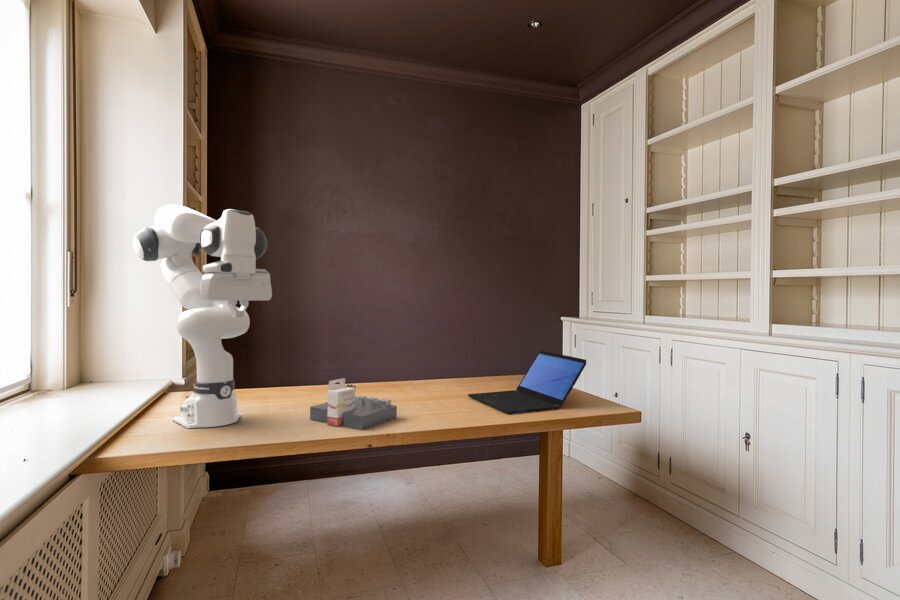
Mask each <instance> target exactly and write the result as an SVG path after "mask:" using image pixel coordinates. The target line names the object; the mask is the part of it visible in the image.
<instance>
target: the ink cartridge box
mask: <svg viewBox="0 0 900 600" xmlns="http://www.w3.org/2000/svg"><path fill="white" fill-rule="evenodd" d="M337 383H338V384H337ZM345 386H346V378H345V377H344V378H337V379H334V380H333V379H332V380H329V381H328V388H327V389H328V390H327V402H328V410H327V423H326V424H327V425H328V426H333V427H337V426H338V427H340V425H341V426H343V413H344V412H348V411H351V410H354V408H355V397H356V394H355V393H356V388H352V387H347V386H346V387H345Z"/></svg>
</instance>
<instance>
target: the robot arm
mask: <svg viewBox="0 0 900 600" xmlns="http://www.w3.org/2000/svg"><path fill="white" fill-rule="evenodd" d="M154 223H155V225H153V226H148V225H146V226H144V227H143V228H142V229H141V230H139V231H138V232H136V233H135V235H134V236H133V238H132V245H133V249H134V251H135V253H136V254H137V256H138V258H140V259H141V260H142V261H145V262H155V261H156V262H157V261H158V260H162V262H161V263H160V270H161V273H162V276H163V278H164V280H165V282H166V284H167V286H168V287H169V289H170V290H171V292H172V293H173V294H174V296H175V298H176V299H177V301H178V302H179V303H180V305H181V307H183V308H184V309H186V310H184V311H183V312H181V313H180V315H179V316H178V318H177V321H176V329H177V331H178V333H179V335H180V336H181V338H182V339H184V340H186V341H187V342H188V344H189V345H190V347H191V348H192V350H193V353H194V356H195V360H196V361H195V363H196V364H195V365H196V381H195V382H193V384H192V387H193V390H192V393H191V394H190V395H188V397H187V398H186V399H185V400H183V401H182V402H181V404H180V405H181V406H179V407H180V409H179V410H180V414H179V415H175V416H174V417H172V421H173V420H174V421H175V423H176V422H177V423H176V424H178V423H179V424H178V425H180V424H181V425H180V426H182V427H184V428H187V429H196V428H197V429H198V428H215V427H216V428H217V427H222V426H226V425H231V424H234V423H236V422H237V421H239V418H241V413H240V412H239V410H238V400H237V394H236V393H235V384H236V383H235V379H234V358H233V355H232V354H231V353H230V352H228V351H226V350H225V348H224V346H223V344H222V340H223V339H233V338H236V337H239V336H242V335H243V334H245V333H247V332H248V330H249V328H250V324H251V323H250V322H251V321H250V320H251V319H250V316H249V314H248V312H247V311H246V310H247V309H248V307H249V302H250V301H256V302H257V301H270V300H271V299H272V297H273V292H272V290H273V289H272V283H271V274H270V272H269V271H268V270H266V269H265V268H257V266H256V263H257V262H256V261H257V260H259V259H260V258H261V257H262V256H264V254H265V253H266V251H267V248H268V239H267V237H266V235H265V233H264V232H263V230H261V228H260V227H257V226H256V221H255V217H254V215H253V213H251V212H249V211H246V210H238V209H232V208H228V209H225V210H223V212H222V215H221V217H220V218H219V219H217V220H216V219H215V218H212V217H210V216H207V215H205V214H203V213H201V212H199V211H196V210H194V209H191V208H190V207H187V206H183V205H177V204H169V205H164V206H161V207H159V208H158V209H157V211H156V213H155V216H154ZM201 250H202V251H204V252H205V254H206V255H209V256H211V257H216V258H217V257H218V258H220V260H218V261H214V262H210V263H206V264H204V265H203V266H202V271H203V272H204V274H203V273H202V272H201V271H200V269H199V268H198V267H197V265H196V264H195V263H194V261H193V258H192V257H193V256H194V257H197V256H199V255H200V251H201ZM238 301H239V305H240V307H238V306H236V305H237V304H238ZM174 421H173V422H174Z"/></svg>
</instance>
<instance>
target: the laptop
mask: <svg viewBox="0 0 900 600" xmlns="http://www.w3.org/2000/svg"><path fill="white" fill-rule="evenodd" d="M586 365H587V359H584V358H579V357H575V356H570V355H566V354H565V355H564V354H560V353H555V352H550V351H545V350H539V351H538V353H537V355H536V356H535V358H534V359H533V362H531V365H530V366H529V367H528V368H527V371H526V372H525V374H524V375H523V377H522V379H521V380H520V382H519V383H518V386H517V387H516V389H512V390H504V391H503V390H502V391H501V390H500V391H491V392H477V393H476V392H475V393H468V394H467V396H468V398H470V397H471V398H470V399H472V398H473V399H472V400H475V401H477V400H478V402H480V403H482V404H483V405H486V406H488V405H489V407H490V406H491V408H493V409H495V410H498V411H499V410H500V411H499V412H501V413H504V414H505V413H506V415H514V414H513V413H519V414H523V412H525V413H532V411H536V412H543V411H542V410H545V411H552V410H551V409H554V410H558V409H559V408H562V407H563V404H564V402H566V400H567V398H568V396H569V394H570V392H571V391H572V389H573V388H574V386H575V384H576V382H577V381H578V380H579V378H580V376H581V374H582V372H583V371H584V369H585V368H586Z"/></svg>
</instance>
